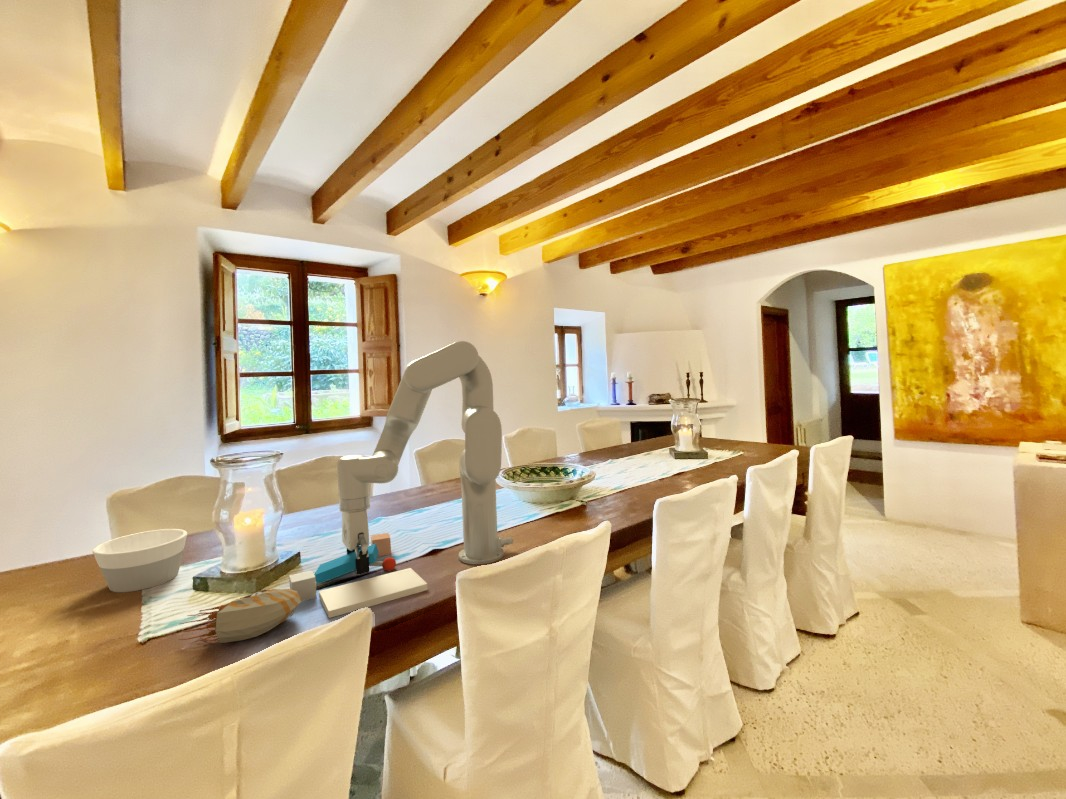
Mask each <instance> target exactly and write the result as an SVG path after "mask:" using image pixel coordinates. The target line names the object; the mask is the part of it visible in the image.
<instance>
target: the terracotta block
mask: <svg viewBox="0 0 1066 799" xmlns="http://www.w3.org/2000/svg"><path fill="white" fill-rule="evenodd" d="M391 543H392V542H391V535H390V533H389V532H383V533H378V534H377V533H376V534H371V535H370V546H371V545H373V544H376V546H377V548H378V551H379V553H378V557H384V556H388V555H389V556H390V555H392V546H391Z"/></svg>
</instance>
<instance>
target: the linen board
mask: <svg viewBox="0 0 1066 799" xmlns="http://www.w3.org/2000/svg"><path fill="white" fill-rule="evenodd" d="M425 591H428V582H426V581H425V580H424V578H422V577H421V576H420V575H419V574H418V573H417V572H415V570H414V569H413V568H412V567H408V568H404V569H401V570H396V571H393V572H389V573H384V574H381V575H377V576H373V577H369V578H366V579H365V578H364V579H361V580H357V581H354V582H350V583H346V584H345V583H344V584H341V585H338V586H334V587H330V588H326V589H322V590H318V596H319V597H318V598H319V599H320V600H319V601H320V602H321V604H322V606H323V609H324V610H325V612H326V615H327V617H328V618H329V619H331V618H334V617H337V616H342V615H344V614H347V613H348V614H349V613H351V612H356V611H358V610H357V609H359V610H361V609H360V608H363V609H365V608H364V607H366V608H369V607H372V606H376V605H379V604H384V603H386V602H390V601H393V600H397V599H401V598H405V597H408V596H410V595H411V596H412V595H414V594H418V593H421V592H425ZM355 610H356V611H355Z"/></svg>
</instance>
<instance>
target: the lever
mask: <svg viewBox="0 0 1066 799" xmlns="http://www.w3.org/2000/svg"><path fill="white" fill-rule="evenodd" d="M367 550H368V555H369V567H382V569H383V571H386V572H391V571H393V570H395V568H396V565H397V562H396V559H395V558H393V557H391V556H390V557H386V558H384V559H383V561H381V560H378V557H379V556H378V553H379V551H378V548H377V546H376V544H373V545H371V544H370V545H369V546H368V547H367ZM358 552H360V550H358ZM355 559H357V558H356V553H355V552H352V553H349V554H347V553H346V554H344V555H341V556H339V557H336V558H334V559H331V560H329V561H326V562H323V563H321V564H319V566H318V568H317V569H316V571H315V572H314V575H315V578H316V584H321V583H324V582H327V581H330V580H332V579H335V578H338V577H340V576H343V575H345V574H348V573H350V572H353V571H356V564H355Z"/></svg>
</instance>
